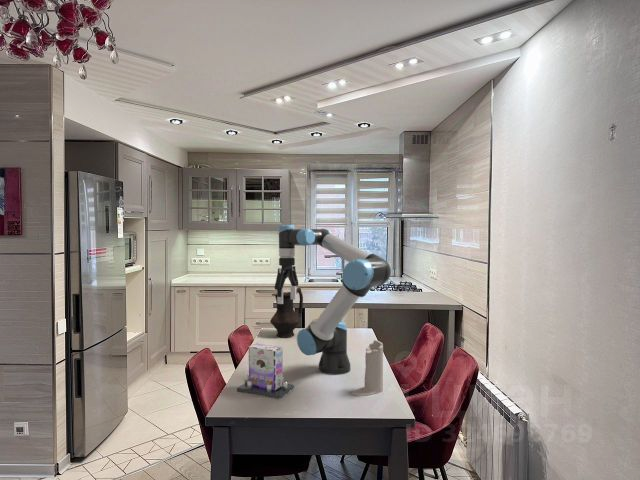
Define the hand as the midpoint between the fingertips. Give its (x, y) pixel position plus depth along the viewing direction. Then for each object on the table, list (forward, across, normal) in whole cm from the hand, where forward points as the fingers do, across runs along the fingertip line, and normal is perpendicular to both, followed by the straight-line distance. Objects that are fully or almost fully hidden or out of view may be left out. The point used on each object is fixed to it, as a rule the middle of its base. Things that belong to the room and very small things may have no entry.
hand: (287, 301), depth 203 cm
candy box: (+30, +29, +5) cm, 42 cm away
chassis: (+32, +29, +5) cm, 43 cm away
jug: (+32, -54, -28) cm, 69 cm away
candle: (+32, +14, +44) cm, 56 cm away
